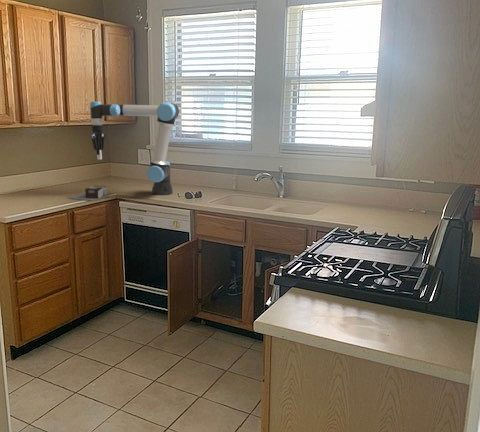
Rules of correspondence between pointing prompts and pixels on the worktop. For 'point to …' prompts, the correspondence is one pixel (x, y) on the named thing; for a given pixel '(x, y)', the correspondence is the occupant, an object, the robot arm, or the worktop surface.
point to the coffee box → (96, 191)
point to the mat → (83, 197)
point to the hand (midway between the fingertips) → (99, 159)
